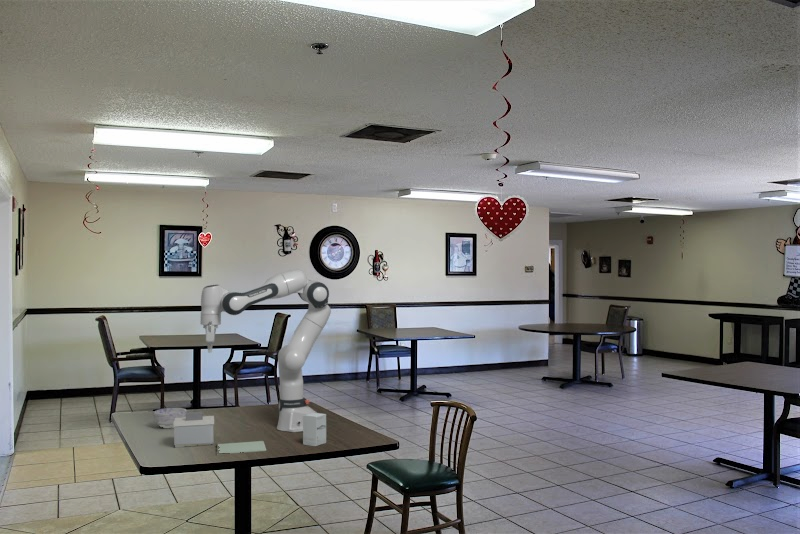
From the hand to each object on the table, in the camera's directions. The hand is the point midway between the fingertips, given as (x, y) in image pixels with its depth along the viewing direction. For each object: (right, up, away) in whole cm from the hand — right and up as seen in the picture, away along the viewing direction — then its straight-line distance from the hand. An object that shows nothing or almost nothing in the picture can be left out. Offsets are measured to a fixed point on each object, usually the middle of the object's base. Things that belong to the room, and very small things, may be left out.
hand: (209, 351), depth 311 cm
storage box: (-4, -39, -11) cm, 40 cm away
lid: (-4, -31, -11) cm, 33 cm away
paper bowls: (-26, -40, +24) cm, 53 cm away
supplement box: (+49, -38, -14) cm, 64 cm away
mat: (+19, -38, -20) cm, 47 cm away
